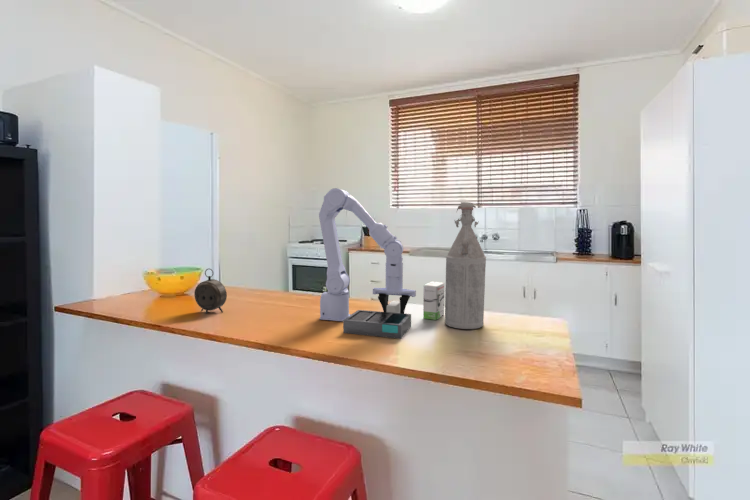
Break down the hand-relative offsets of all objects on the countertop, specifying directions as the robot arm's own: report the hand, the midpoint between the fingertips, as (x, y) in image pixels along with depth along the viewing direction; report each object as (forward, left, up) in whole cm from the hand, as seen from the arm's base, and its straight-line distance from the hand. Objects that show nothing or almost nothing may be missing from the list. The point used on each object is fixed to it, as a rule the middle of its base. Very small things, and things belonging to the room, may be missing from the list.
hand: (393, 316), depth 132 cm
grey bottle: (+23, +3, -2) cm, 23 cm away
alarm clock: (-66, -10, -2) cm, 67 cm away
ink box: (+12, +9, -2) cm, 15 cm away
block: (0, 0, -2) cm, 2 cm away
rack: (-2, -12, -1) cm, 12 cm away
